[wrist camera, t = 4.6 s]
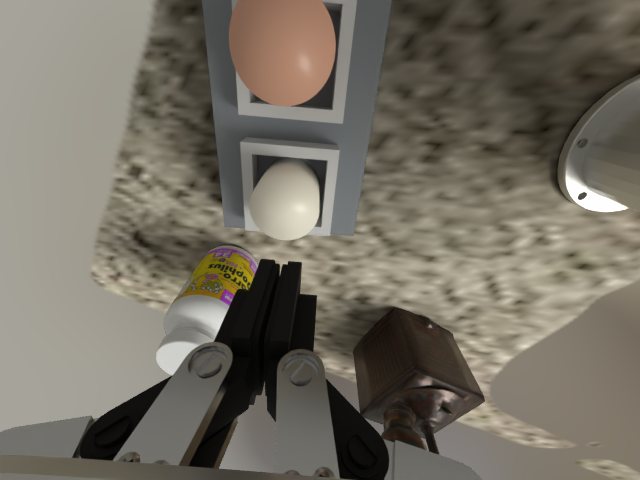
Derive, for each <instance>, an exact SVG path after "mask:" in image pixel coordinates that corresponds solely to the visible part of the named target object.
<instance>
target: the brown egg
mask: <svg viewBox="0 0 640 480" xmlns="http://www.w3.org/2000/svg"><path fill="white" fill-rule="evenodd" d="M229 47H230V53H231V57H232V61H233V64H234V67H235V69H236V71H237V73H238V75H239V77H240V78H241V80H242V81H243V83H244V84H245V85H246V87H247V88H248V89H249V90H250V91H251V92H252V93H253V94H255V95H256V96H257V97H259V98H260V99H262V100H263V101H265V102H268V103H270V104H273V105H277V106H295V105H298V104H301V103H304V102H306V101H308V100H309V99H311V98H312V97H314V96H315V95H316V94H317V93H318V92H319V91H320V90H321V89H322V87H323V86H324V84H325V83H326V81H327V79H328V78H329V76H330V73H331V70H332V67H333V64H334V59H335V50H336V41H335V32H334V27H333V24H332V20H331V17H330V15H329V13H328V10H327V9H326V7H325V5H324V3H323V2H322V1H321V0H238V2H237V4H236V6H235V8H234V11H233V14H232V16H231V21H230V26H229Z"/></svg>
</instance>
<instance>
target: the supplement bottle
mask: <svg viewBox="0 0 640 480" xmlns="http://www.w3.org/2000/svg"><path fill="white" fill-rule="evenodd" d="M257 268H258V264H257V262H256V260H255V259H254V258H253V256H252V255H251V254H249V253H248V252H247V251H245V250H243V249H241V248H238V247H235V246H228V245H227V246H219V247H216V248H214V249H212V250H210V251H209V252H208V253H207V254H206V255H205V256H204V258H203V259H202V260H201V262H200V263H199V265H198V266H197V268H196V269H195V271H194V272H193V273H192V275H191V276H190V278H189V279H188V281H187V282H186V284H185V285H184V287H183V288H182V290H181V291H180V293H179V294H178V296H177V297H176V299H175V300H174V302H173V303H172V304H171V306H170V308H169V309H168V311H167V313H166V315H165V318H164V329H165V333H166V336H165V338H164V339H163V340H162V343H161V345H160V346H159V348H158V350H157V352H156V361H157V363H158V365H159V366H160V367H161V368H162V369H163V370H164V371H165V372H167V373H168V374H170V375H173V374H174V373H175V372H176V370H177V369H178V367H179V366H180V365H181V363H182V362H183V360H184V359H185V357H186V356H187V355H188V354H189V353H190V352H191V351H192V350H193V349H195V348H196V347H198V346H200V345H202V344H204V343H209V342H214V340H215V337H216V335H217V333H218V331H219V329H220V326H221V324H222V322H223V320H224V317H225V315H226V313H227V311H228V308H229V306H230V304H231V302H232V300H233V297H234V295H235V293H236V291H237V290H238V289H247V290H249V288H250V286H251V283H252V281H253V278H254V275H255V273H256V270H257Z"/></svg>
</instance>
